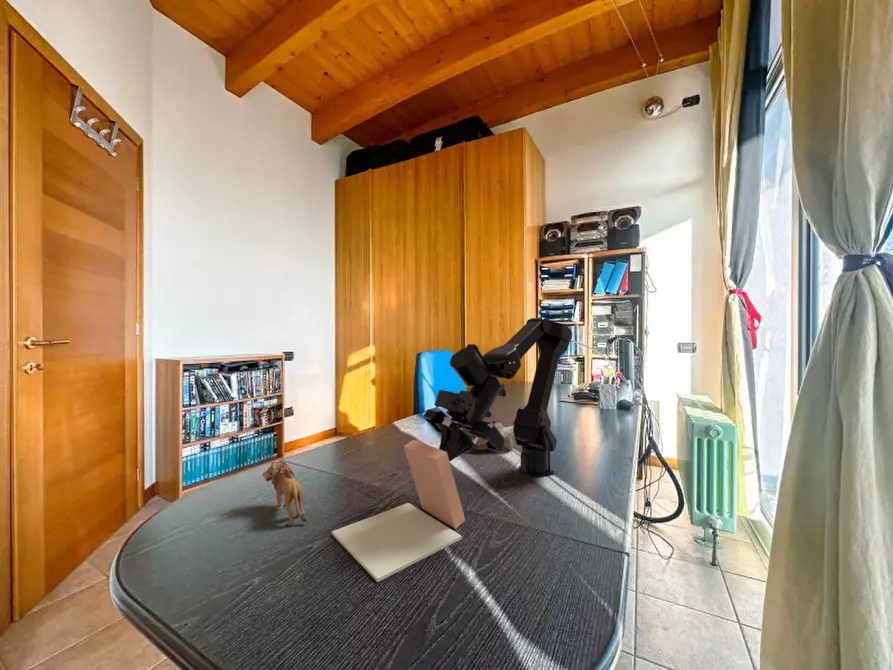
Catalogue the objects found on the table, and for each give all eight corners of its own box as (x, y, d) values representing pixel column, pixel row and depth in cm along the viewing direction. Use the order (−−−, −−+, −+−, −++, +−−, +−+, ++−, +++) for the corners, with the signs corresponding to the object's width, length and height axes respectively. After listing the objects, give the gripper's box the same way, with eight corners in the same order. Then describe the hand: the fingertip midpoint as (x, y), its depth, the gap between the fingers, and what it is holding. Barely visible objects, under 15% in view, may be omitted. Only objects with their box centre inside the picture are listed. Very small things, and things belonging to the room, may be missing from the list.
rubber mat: (408, 505, 73) (408, 502, 73) (461, 538, 60) (461, 535, 60) (331, 534, 62) (331, 531, 62) (377, 582, 50) (377, 578, 50)
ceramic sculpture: (518, 424, 102) (466, 426, 104) (520, 454, 102) (468, 456, 104) (515, 415, 113) (468, 418, 114) (518, 443, 112) (470, 445, 114)
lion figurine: (260, 505, 73) (259, 461, 73) (286, 496, 77) (285, 455, 77) (293, 531, 64) (292, 480, 64) (321, 519, 68) (320, 471, 68)
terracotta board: (431, 501, 73) (413, 439, 70) (465, 520, 65) (446, 452, 62) (422, 508, 71) (403, 446, 68) (455, 529, 63) (436, 459, 61)
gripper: (429, 371, 78) (385, 430, 71) (493, 378, 64) (446, 454, 57) (456, 403, 83) (418, 461, 76) (521, 416, 69) (481, 490, 62)
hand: (437, 465), depth 67 cm, fingers closed
